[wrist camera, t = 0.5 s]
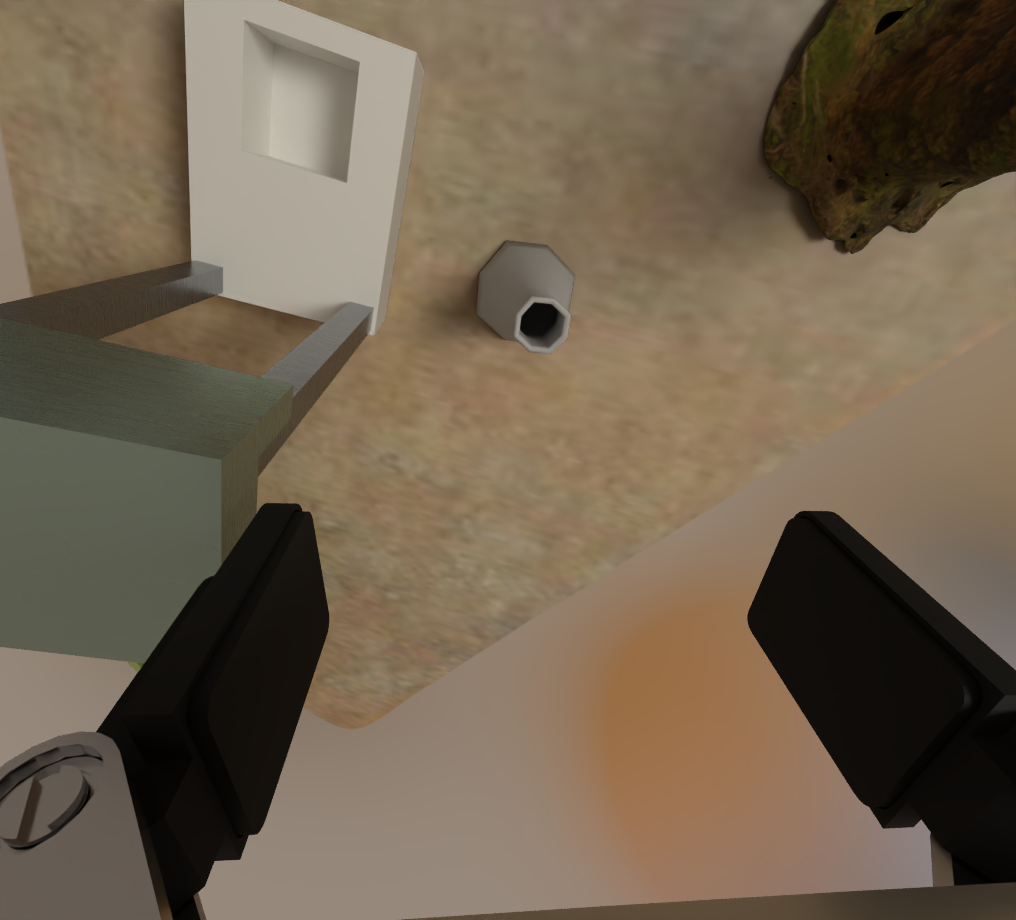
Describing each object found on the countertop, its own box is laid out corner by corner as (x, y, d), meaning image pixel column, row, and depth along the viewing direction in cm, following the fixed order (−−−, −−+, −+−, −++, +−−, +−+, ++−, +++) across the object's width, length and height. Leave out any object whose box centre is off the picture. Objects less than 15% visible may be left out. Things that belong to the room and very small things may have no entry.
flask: (460, 319, 35) (456, 358, 27) (500, 221, 32) (510, 229, 24) (545, 357, 37) (568, 406, 28) (591, 267, 34) (631, 291, 25)
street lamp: (160, 190, 26) (-1354, 153, 4) (410, 263, 29) (221, 460, 7) (165, 281, 29) (-826, 551, 7) (396, 341, 31) (221, 672, 9)
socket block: (226, 0, 26) (183, -36, 22) (424, 72, 28) (416, 52, 24) (225, 278, 33) (192, 288, 29) (384, 319, 35) (374, 335, 31)
